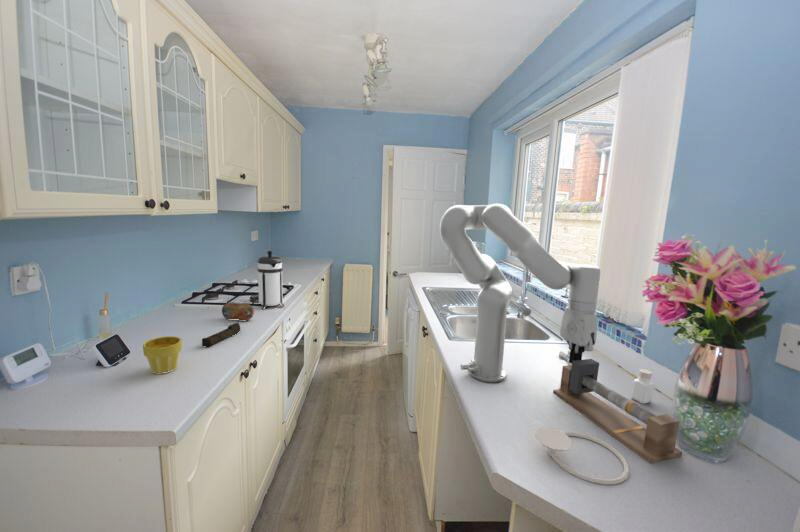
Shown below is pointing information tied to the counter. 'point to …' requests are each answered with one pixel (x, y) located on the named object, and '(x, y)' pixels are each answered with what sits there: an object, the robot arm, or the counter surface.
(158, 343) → the plant pot
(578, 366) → the collar
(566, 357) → the adjustable wrench
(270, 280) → the coffee press
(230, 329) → the hand tool
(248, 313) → the tin
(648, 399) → the salt shaker
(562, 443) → the hand towel holder
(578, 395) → the pipe stand
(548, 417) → the counter surface
